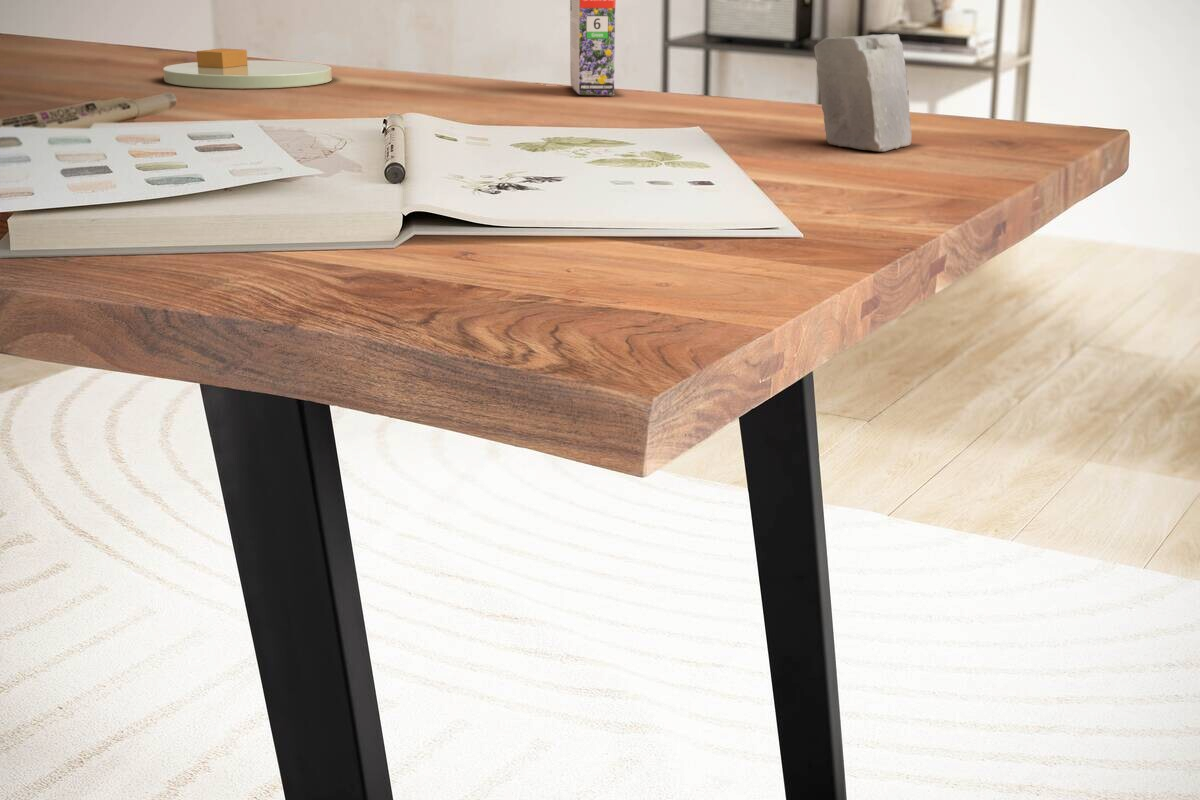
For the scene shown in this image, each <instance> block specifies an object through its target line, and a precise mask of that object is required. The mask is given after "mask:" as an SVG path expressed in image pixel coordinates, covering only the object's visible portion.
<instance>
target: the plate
mask: <svg viewBox="0 0 1200 800" xmlns="http://www.w3.org/2000/svg"><path fill="white" fill-rule="evenodd" d="M247 64H248V65H245V66H237V67H229V68H210V67H198V63H197V61H195V62H184V63H176V64H169V65H166V66H165V67H163V68H162V75H163V81H164V83H167V84H169V85H174V86H181V87H188V88H203V89H204V88H205V89H228V90H229V89H231V90H232V89H233V90H235V89H237V90H247V89H249V90H251V89H253V90H254V89H255V90H256V89H257V90H258V89H284V88H285V89H287V88H299V87H301V88H302V87H309V86H310V87H311V86H316V85H324V84H327V83H329V82H331V81H332V80H333V71H332V70H333V69H332V67H331V66H329V65H328V64H327V65H326V64H322V63H315V62H305V61H291V60H290V61H288V60H257V59H256V60H253V59H252V60H251V59H250V60H248V59H247Z"/></svg>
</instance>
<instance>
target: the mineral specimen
mask: <svg viewBox="0 0 1200 800" xmlns="http://www.w3.org/2000/svg"><path fill="white" fill-rule="evenodd" d="M900 38H901V37H900V35H899V32H898V33H894V34H893V33H892V34H891V33H883V34H868V35H859V36H856V35H854V36H852V35H851V36H843V37H839V36H835V37H833V36H832V37H831V36H830V37H825V38H824V39H822V40H820V41H819V42H817V43H816V44H815V45H814V47H813V49H814V58H815V61H816V75H817V82H818V87H819V96H820V100H821V110H822V113H823V122H824V132H825V138H826V139H825V140H826V142H827V143H828V144H829V145H831V146H838V147H840V148H842V147H844V148H848V149H849V148H850V149H851V148H852V149H855V150H862V151H872V152H888V151H892V150H897V149H899V148H903V147H907V146H910V145H911V143H912V137H913V135H912V125H911V121H912V120H911V113H910V101H909V100H910V99H909V89H908V73H907V72H908V70H907V67H906V60H905V58H904V44H903V42H902V41H901V39H900Z"/></svg>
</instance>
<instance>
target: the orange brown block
mask: <svg viewBox="0 0 1200 800" xmlns="http://www.w3.org/2000/svg"><path fill="white" fill-rule="evenodd" d="M247 60H248V52H247V49H243V48H242V49H241V48H239V49H238V48H221V47H220V48H211V49H203V50H196V62H197V63H198V67H210V68H229V67H237V66H245V65H248V64H247Z"/></svg>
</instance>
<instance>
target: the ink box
mask: <svg viewBox="0 0 1200 800" xmlns="http://www.w3.org/2000/svg"><path fill="white" fill-rule="evenodd" d="M616 4H617V3H616V0H569V34H570V35H569V48H570V49H569V51H570V52H569V59H570V60H569V70H570V71H569V72H570V73H569V74H570V77H569V78H570V86H571V88H572V89H573V91H575V92H576V94H578V95H579V96H615V52H616V51H615V50H616V49H615V46H616V43H615V42H616ZM572 86H574V87H572Z"/></svg>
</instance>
